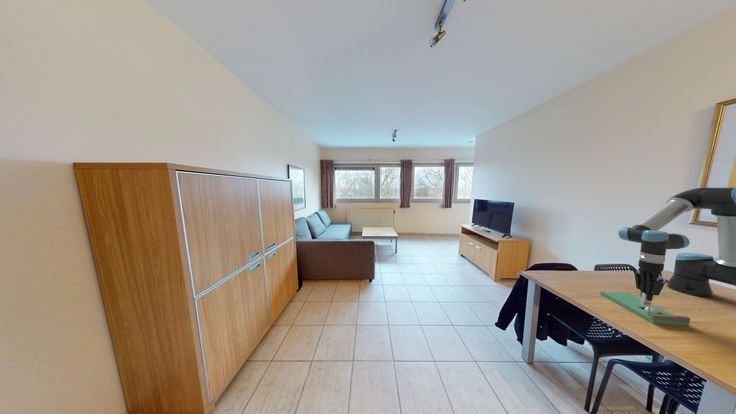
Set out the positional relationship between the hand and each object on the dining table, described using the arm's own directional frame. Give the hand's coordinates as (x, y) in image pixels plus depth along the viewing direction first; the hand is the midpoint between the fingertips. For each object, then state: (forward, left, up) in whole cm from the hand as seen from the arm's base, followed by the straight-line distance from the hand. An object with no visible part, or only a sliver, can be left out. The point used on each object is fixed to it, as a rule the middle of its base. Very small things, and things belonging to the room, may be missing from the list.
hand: (645, 305), depth 106 cm
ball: (0, +3, -1) cm, 3 cm away
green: (0, -3, -3) cm, 4 cm away
